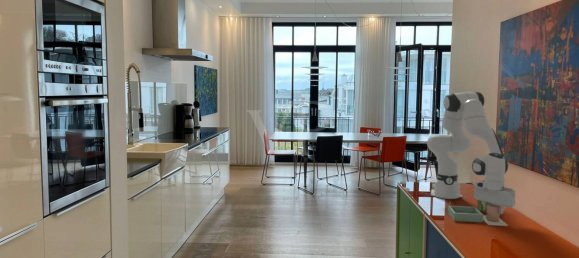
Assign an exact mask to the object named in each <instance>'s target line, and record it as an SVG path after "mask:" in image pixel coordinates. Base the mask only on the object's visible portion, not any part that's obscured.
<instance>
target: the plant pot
mask: <svg viewBox="0 0 579 258" xmlns="http://www.w3.org/2000/svg"><path fill="white" fill-rule="evenodd" d="M476 201H477V203H476V204H477V209H478V210H479V211H480V212H481V213H487V210H484V206H483V204H482V201H480V200H476ZM487 204H493V203H489V202H486V206H487Z"/></svg>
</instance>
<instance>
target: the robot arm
mask: <svg viewBox="0 0 579 258" xmlns="http://www.w3.org/2000/svg"><path fill="white" fill-rule="evenodd" d="M484 106H485V97H484V95H483V93H481V92H479V91H463V92H455V93H454V92H452V93H448V94H446V95H445V97H444V99H443V107H444V113H443V119H442V128H443V129H444V130H445V131H447V132H449V134H433V135H430V136H429V137H428V138H427V141H426V142H427V143H426V146H427V148H428V149H429V151H431V152H432V153H433V154H434V156H435V157H436V159H437V174H436V180H435V182H434V183H432V185H431V187H432V189H431V191H430V196H431V197H436V198H439V199H447V200H456V199H459V198H463V195H462V194H461V190H460V189H461V185H460V183H459V182H458V180H459V179H458V178H459V177H458V162H457V160H456V159H454V158H453V157H450V156H449V153H464V152H468V151H469V149H470V147H471V145H472V144H471V139H470V138H469V136H468V135H466V134H465V133H464V131H463V122H464V128H465V130H466V132H468V133H469V134H470V135H472V136H474V137H477V138H479V139H481V140H483V141H484V142H485V143H486V144H487V146H488V147H487V148H488V149H489V153H488V154H487V155H485V156H481V157H476V158H474V160H473V161H472V165H471V169H472V171H473V173H474V174H475V175H477V176H481V177H483V176H485V179H484V180H481V181H480V180H479V181H477V182H475V187H474V188H473V189H474V190H473V198H474V200H476V201H477V200H480V201H482V204H483V206H484V210H487V206H486V202H489V203H492V204H497V205H500V210H499V214H500V215H502V214H504V210H505V209H506V208H513V207H515V206H516V191H515V189H513V188H512V187H510V188H509V187H507V186H505V182H506V181H505V174H506V173H507V172H508V170H509V163H508V160H507V159H506V157H505V155H504V153H503V150H502V147H501V144H500V142H499V139H498V137H497V134H496V131H495V130H494V129H493V128H492V127H491V126H490V124H489V123H488V120H487V116H486V112H485V109H484Z"/></svg>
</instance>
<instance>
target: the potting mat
mask: <svg viewBox="0 0 579 258" xmlns="http://www.w3.org/2000/svg"><path fill="white" fill-rule="evenodd" d="M486 215H487V214H486ZM486 215H485V214H483V222H485V223H486V224H487V225H488V226H499V227H502V226H503V227H509V225H508V224H507V223H506V222H505V221H503V220H502V219H501V218H500V217H499V221H489V220H487V219H486Z"/></svg>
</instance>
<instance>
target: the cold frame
mask: <svg viewBox="0 0 579 258" xmlns="http://www.w3.org/2000/svg"><path fill="white" fill-rule="evenodd" d="M447 214H448V215H449V216H450V218H451V219H452V221H454V222H466V223H467V222H469V223H470V222H471V223H483V222H484V220H483V215H484V214H483V212H482V211H479V210H478V207H476V206H466V205H465V206H464V205H463V206H461V205H459V206H458V205H447Z"/></svg>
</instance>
